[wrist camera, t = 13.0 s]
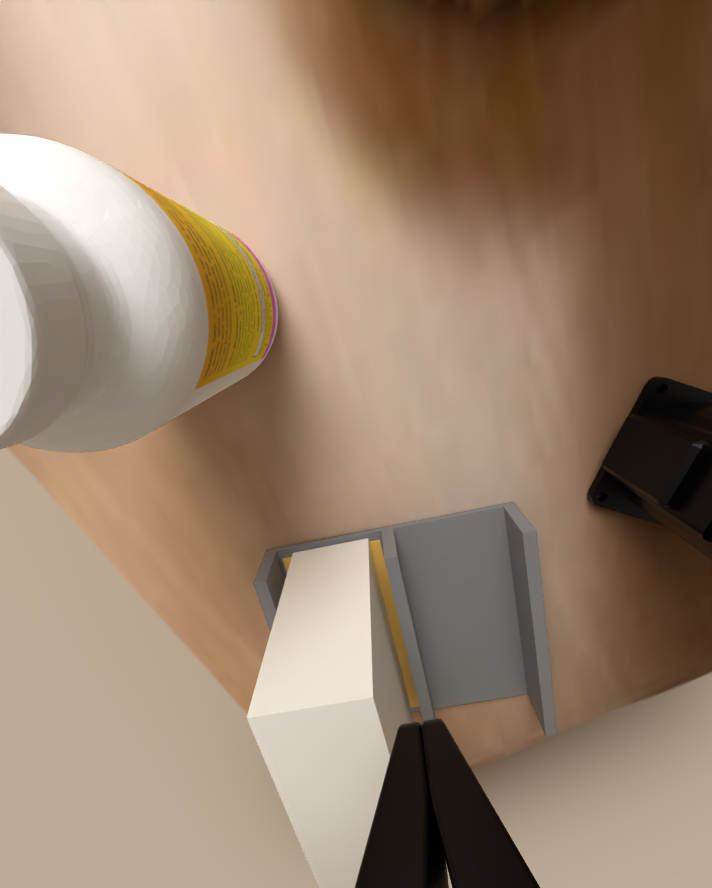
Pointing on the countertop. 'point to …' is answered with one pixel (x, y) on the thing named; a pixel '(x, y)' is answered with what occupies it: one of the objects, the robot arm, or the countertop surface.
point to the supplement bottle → (114, 303)
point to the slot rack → (454, 606)
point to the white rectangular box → (330, 704)
